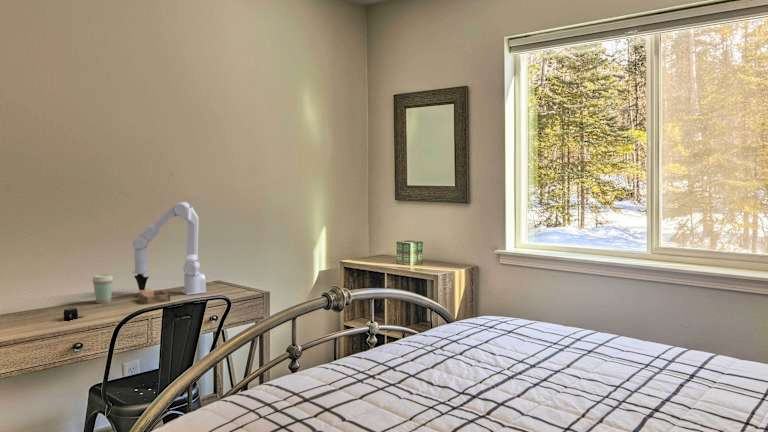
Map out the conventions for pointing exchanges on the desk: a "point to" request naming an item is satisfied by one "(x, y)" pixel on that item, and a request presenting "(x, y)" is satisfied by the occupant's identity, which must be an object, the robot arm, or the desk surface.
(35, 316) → the desk surface
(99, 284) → the coffee cup
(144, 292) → the salmon pink block
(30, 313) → the desk surface
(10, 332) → the desk surface
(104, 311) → the desk surface
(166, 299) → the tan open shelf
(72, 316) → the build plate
